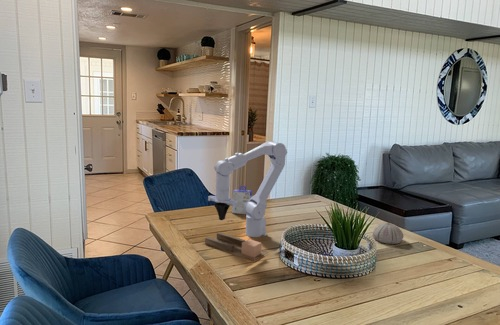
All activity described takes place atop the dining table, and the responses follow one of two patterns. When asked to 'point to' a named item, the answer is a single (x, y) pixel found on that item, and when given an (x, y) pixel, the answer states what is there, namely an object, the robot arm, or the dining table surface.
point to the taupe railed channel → (230, 245)
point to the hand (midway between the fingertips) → (221, 219)
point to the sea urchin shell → (388, 233)
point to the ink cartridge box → (241, 199)
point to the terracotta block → (251, 248)
